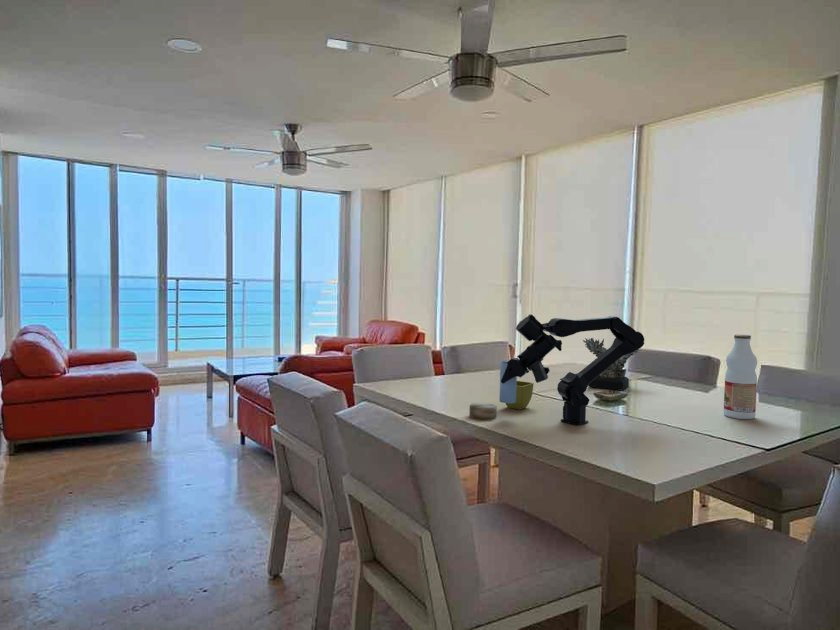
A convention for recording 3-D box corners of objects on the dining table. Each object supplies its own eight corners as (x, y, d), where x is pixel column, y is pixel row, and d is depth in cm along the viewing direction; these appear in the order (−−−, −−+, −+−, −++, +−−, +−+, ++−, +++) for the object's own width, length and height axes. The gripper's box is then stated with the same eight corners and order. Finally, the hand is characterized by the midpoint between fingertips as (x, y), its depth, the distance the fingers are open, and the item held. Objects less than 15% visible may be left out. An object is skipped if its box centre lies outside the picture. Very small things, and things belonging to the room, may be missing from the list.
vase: (519, 402, 175) (520, 361, 175) (507, 403, 172) (508, 363, 172) (507, 399, 180) (508, 359, 179) (496, 401, 177) (496, 361, 176)
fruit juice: (745, 421, 177) (748, 336, 176) (717, 415, 185) (720, 334, 184) (761, 417, 182) (764, 335, 180) (733, 412, 190) (736, 333, 189)
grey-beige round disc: (502, 417, 179) (502, 406, 179) (482, 420, 173) (482, 410, 173) (483, 411, 186) (483, 401, 186) (463, 415, 181) (464, 404, 180)
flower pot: (522, 411, 187) (523, 386, 187) (500, 408, 192) (500, 383, 192) (533, 407, 194) (534, 382, 194) (511, 404, 199) (512, 380, 199)
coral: (579, 387, 234) (580, 339, 233) (583, 381, 250) (584, 336, 249) (641, 392, 224) (642, 342, 223) (641, 385, 241) (643, 339, 240)
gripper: (551, 372, 161) (513, 405, 166) (560, 365, 178) (527, 394, 183) (525, 345, 163) (489, 378, 168) (537, 340, 181) (504, 370, 185)
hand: (504, 381), depth 176 cm, fingers closed on vase, 5 cm apart
